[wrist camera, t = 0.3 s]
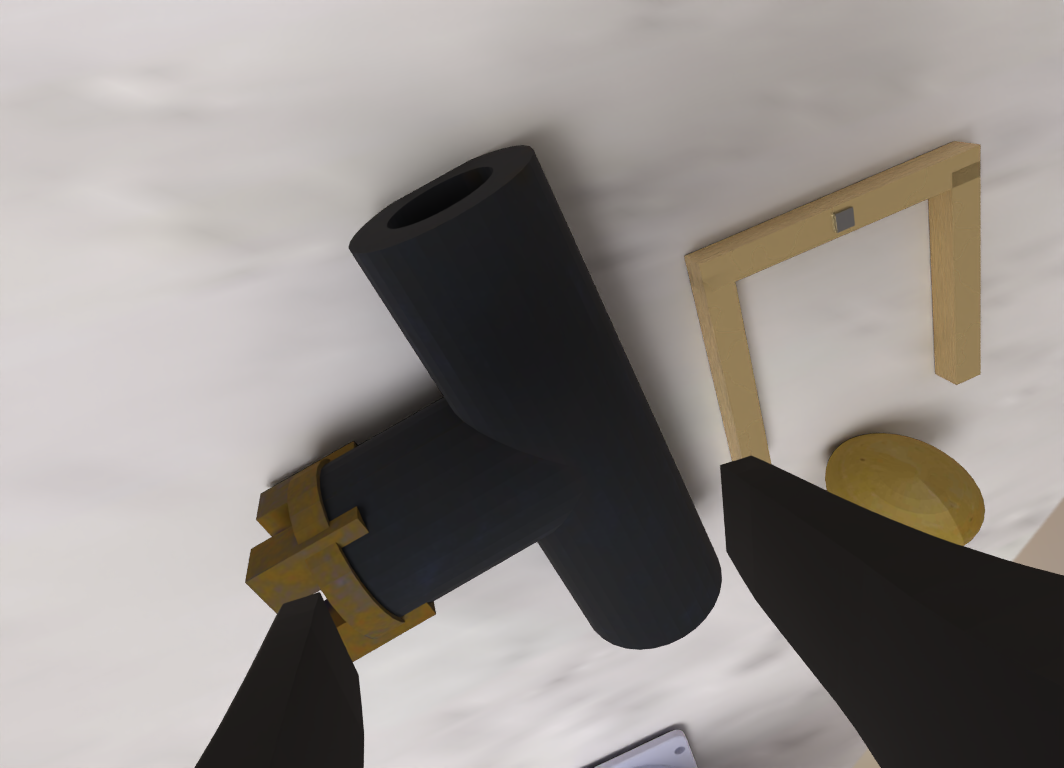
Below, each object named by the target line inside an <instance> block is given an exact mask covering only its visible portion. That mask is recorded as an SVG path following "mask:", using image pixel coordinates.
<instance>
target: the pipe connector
mask: <svg viewBox="0 0 1064 768" xmlns="http://www.w3.org/2000/svg"><path fill="white" fill-rule="evenodd" d="M349 249H350V251H351V253H352V254H353V256H354V257H355V259H356V261H357V262H358V264H359V265H360V267H361V268H362V270H363V271H364V273H365V275H366V276H367V278H368V279H369V281H370V282H371V284H372V285H373V287H374V289H375V290H376V292H377V293H378V295H379V296H380V298H381V299H382V301H383V303H384V304H385V306H386V307H387V309H388V310H389V312H390V313H391V315H392V317H393V318H394V320H395V321H396V323H397V324H398V326H399V327H400V329H401V331H402V332H403V334H404V335H405V337H406V338H407V340H408V341H409V343H410V345H411V346H412V348H413V349H414V351H415V352H416V354H417V355H418V357H419V359H420V360H421V362H422V363H423V365H424V366H425V368H426V369H427V371H428V373H429V374H430V376H431V377H432V379H433V380H434V382H435V383H436V385H437V387H438V388H439V390H440V391H441V393H442V394H443V396H444V397H443V398H441V399H440V400H438V401H436V402H434V403H433V404H431V405H429V406H427V407H426V408H424V409H422V410H420V411H419V412H417V413H415V414H413V415H412V416H410V417H408V418H406V419H404V420H403V421H401V422H399V423H397V424H396V425H394V426H392V427H390V428H389V429H387V430H385V431H383V432H382V433H380V434H378V435H376V436H375V437H373V438H371V439H369V440H368V441H366V442H364V443H362V444H360V445H359V446H357V445H356V443H355V442H354V441H353V442H351V443H349V444H347V445H346V446H344V447H342V448H340V449H339V450H337V451H335V452H333V453H332V454H330V455H328V456H326V457H324V458H323V459H321V460H319V461H317V462H316V463H314V464H312V465H310V466H309V467H307V468H305V469H303V470H302V471H300V472H298V473H296V474H295V475H293V476H291V477H289V478H287V479H286V480H284V481H282V482H280V483H279V484H277V485H275V486H273V487H272V488H270V489H268V490H266V491H265V492H263V493H261V495H260V501H259V506H258V512H257V518H256V520H257V521H258V522H259V523H260V524H261V525H262V526H263V528H264V529H265V530H266V531H267V532H268V533H269V534H270V535H271V536H272V537H271V538H269V539H268V540H266V541H264V542H262V543H261V544H259V545H257V546H255V547H254V548H252V549H251V552H250V557H249V563H248V569H247V575H246V580H245V583H246V584H247V585H248V586H249V587H250V588H251V589H252V590H253V591H254V592H255V593H256V594H257V595H258V596H259V597H260V598H261V599H262V600H263V601H264V602H265V603H266V604H267V605H268V606H269V607H270V608H271V609H273V610H274V611H275V612H276V613H278V611H279V610H280V608H281V606H282V605H283V604H284V603H287V602H290V601H293V600H296V599H300V598H303V597H306V596H309V595H312V594H314V593H316V592H318V591H319V590H321V591H322V592H323V593H324V595H325V596H326V598H327V599H326V600H325V601H324V602H325V604H326V606H327V609H328V611H329V613H330V615H331V617H332V619H333V621H334V624H335V626H336V628H337V630H338V632H339V634H340V636H341V639H342V641H343V643H344V645H345V647H346V649H347V651H348V654H349V656H350V658H351V660H352V662H354V661H356V660H357V659H359V658H361V657H363V656H364V655H366V654H368V653H369V652H371V651H373V650H375V649H376V648H378V647H380V646H382V645H383V644H385V643H387V642H389V641H390V640H392V639H394V638H396V637H397V636H399V635H401V634H402V633H404V632H406V631H408V630H409V629H411V628H413V627H415V626H416V625H418V624H420V623H422V622H423V621H425V620H427V619H428V618H430V617H432V616H434V615H435V614H436V611H435V606H434V601H435V600H437V599H438V598H440V597H442V596H443V595H445V594H447V593H449V592H450V591H452V590H454V589H456V588H457V587H459V586H461V585H463V584H464V583H466V582H468V581H470V580H471V579H473V578H475V577H476V576H478V575H480V574H482V573H483V572H485V571H487V570H489V569H490V568H492V567H494V566H496V565H497V564H499V563H501V562H503V561H504V560H506V559H508V558H509V557H511V556H513V555H515V554H516V553H518V552H520V551H522V550H523V549H525V548H527V547H529V546H530V545H532V544H534V543H536V542H538V544H539V545H540V547H541V548H542V550H543V551H544V553H545V555H546V556H547V558H548V559H549V561H550V562H551V564H552V565H553V567H554V569H555V570H556V572H557V573H558V575H559V576H560V578H561V579H562V581H563V583H564V584H565V586H566V587H567V589H568V590H569V592H570V593H571V595H572V597H573V598H574V600H575V601H576V603H577V604H578V606H579V607H580V609H581V611H582V612H583V614H584V615H585V617H586V618H587V620H588V621H589V623H590V625H591V626H592V628H593V629H594V630H595V631H596V632H597V633H598V634H599V635H600V636H601V637H602V638H603V639H605V640H606V641H608V642H610V643H612V644H613V645H617V646H620V647H623V648H628V649H638V650H641V649H652V648H657V647H661V646H664V645H668V644H670V643H673V642H675V641H677V640H679V639H681V638H683V637H684V636H686V635H687V634H689V633H690V632H692V631H693V630H694V629H696V628H697V627H698V626H699V625H700V624H701V623H702V622H703V621H704V620H705V619H706V617H707V616H708V614H709V613H710V612H711V610H712V609H713V607H714V605H715V603H716V601H717V598H718V596H719V593H720V588H721V583H722V575H721V567H720V563H719V560H718V557H717V555H716V553H715V551H714V548H713V546H712V544H711V542H710V540H709V537H708V535H707V533H706V531H705V529H704V526H703V524H702V522H701V520H700V517H699V515H698V513H697V511H696V509H695V506H694V504H693V502H692V500H691V498H690V495H689V493H688V491H687V489H686V486H685V484H684V482H683V480H682V478H681V475H680V473H679V471H678V469H677V467H676V464H675V462H674V460H673V458H672V455H671V453H670V451H669V449H668V447H667V444H666V442H665V440H664V438H663V436H662V433H661V431H660V429H659V427H658V424H657V422H656V420H655V418H654V416H653V413H652V411H651V409H650V407H649V405H648V402H647V400H646V398H645V396H644V393H643V391H642V389H641V387H640V385H639V382H638V380H637V378H636V376H635V374H634V371H633V369H632V367H631V365H630V362H629V360H628V358H627V356H626V354H625V351H624V349H623V347H622V345H621V343H620V340H619V338H618V336H617V334H616V331H615V329H614V327H613V325H612V323H611V320H610V318H609V316H608V314H607V312H606V309H605V307H604V305H603V303H602V300H601V298H600V296H599V294H598V292H597V289H596V287H595V285H594V283H593V281H592V278H591V276H590V274H589V272H588V269H587V267H586V265H585V263H584V261H583V258H582V256H581V254H580V252H579V250H578V247H577V245H576V243H575V241H574V238H573V236H572V234H571V232H570V230H569V227H568V225H567V223H566V221H565V219H564V216H563V214H562V212H561V210H560V207H559V205H558V203H557V201H556V199H555V196H554V194H553V192H552V190H551V188H550V185H549V183H548V181H547V179H546V176H545V174H544V172H543V170H542V168H541V165H540V163H539V161H538V159H537V157H536V154H535V152H534V150H533V149H532V148H531V147H530V146H524V145H521V146H512V147H508V148H504V149H500V150H497V151H494V152H491V153H488V154H485V155H483V156H480V157H477V158H475V159H472V160H470V161H468V162H466V163H464V164H462V165H460V166H458V167H457V168H455V169H453V170H451V171H449V172H448V173H446V174H444V175H442V176H440V177H439V178H437V179H435V180H433V181H431V182H430V183H428V184H426V185H424V186H422V187H421V188H419V189H417V190H415V191H413V192H412V193H410V194H408V195H406V196H404V197H402V198H401V199H399V200H397V201H395V202H393V203H392V204H391V205H389V206H388V207H386V208H385V209H383V210H382V211H381V212H380V213H378V214H377V215H376V216H374V217H373V218H372V219H371V220H370V221H368V222H367V223H366V224H365V225H364V226H363V227H362V228H361V229H360V230H359V231H358V232H357V233H356V234H355V235H354V237H353V238H352V240H351V241H350V244H349Z"/></svg>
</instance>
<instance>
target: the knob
mask: <svg viewBox="0 0 1064 768" xmlns="http://www.w3.org/2000/svg"><path fill="white" fill-rule="evenodd" d="M825 481H826V487H827V491H828V492H830V493H833V494H835V495H837V496H839V497H841V498H844V499H846V500H848V501H850V502H852V503H855V504H857V505H859V506H861V507H864V508H866V509H868V510H870V511H873V512H875V513H878V514H880V515H882V516H885V517H887V518H889V519H892V520H894V521H897V522H899V523H902V524H904V525H907V526H910V527H912V528H915V529H917V530H920V531H922V532H925V533H927V534H930V535H933V536H935V537H938V538H941V539H944V540H947V541H949V542H952V543H955V544H958V545H961V546H964V545H965V544H967V543H968V542H970V541H971V540H972V539H973V538H974V536H975V535H976V534H977V533H978V532H979V530H980V528H981V525H982V523H983V521H984V513H985V507H984V500H983V497H982V495H981V492H980V489H979V488H978V486H977V484H976V483H975V481H974V479H973V478H972V477H971V476H970V475H969V473H968V472H967V471H966V470H965V469H964V468H963V467H962V466H961V465H960V464H959V463H957V462H956V461H955V460H954V459H953V458H951V457H950V456H948V455H947V454H946V453H944V452H942V451H941V450H939V449H937V448H935V447H934V446H932V445H929V444H927V443H925V442H922V441H920V440H917V439H913V438H910V437H906V436H901V435H896V434H886V433H874V434H866V435H860V436H857V437H854V438H851V439H849V440H848V441H846V442H844V443H842V444H841V445H840V446H839V447H838V448H837V449H836V450H835V451H834V452H833V454H832V455H831V457H830V459H829V461H828V464H827V467H826V475H825Z"/></svg>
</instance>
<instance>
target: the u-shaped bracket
mask: <svg viewBox="0 0 1064 768" xmlns="http://www.w3.org/2000/svg"><path fill="white" fill-rule="evenodd" d="M926 199H929V224H930V249H931V274H932V299H933V325H934V350H935V374H937V375H938V376H940V377H942V378H944V379H946V380H948V381H950V382H952V383H953V384H955V385H958V384H960V383H962V382H964V381H967V380H969V379H971V378H973V377H975V376H978V375H980V145H979V144H972V143H964V142H957V141H954V142H951V143H949V144H947V145H944V146H942V147H940V148H937V149H935V150H933V151H930V152H928V153H926V154H923V155H921V156H918V157H916V158H914V159H911V160H909V161H907V162H904V163H902V164H900V165H897V166H895V167H893V168H890V169H888V170H886V171H883V172H881V173H879V174H876V175H874V176H871V177H869V178H867V179H864V180H862V181H860V182H857V183H855V184H853V185H850V186H848V187H846V188H843V189H841V190H839V191H836V192H834V193H832V194H829V195H827V196H824V197H822V198H820V199H817V200H815V201H813V202H810V203H808V204H806V205H803V206H801V207H799V208H796V209H794V210H792V211H789V212H787V213H784V214H782V215H780V216H777V217H775V218H773V219H770V220H768V221H766V222H763V223H761V224H759V225H756V226H754V227H752V228H749V229H747V230H745V231H742V232H740V233H737V234H735V235H733V236H730V237H728V238H726V239H723V240H721V241H719V242H716V243H714V244H712V245H709V246H707V247H705V248H702V249H700V250H698V251H695V252H693V253H690V254H688V255H686V256H684V257H685V262H686V266H687V270H688V274H689V279H690V283H691V287H692V292H693V296H694V300H695V304H696V309H697V313H698V317H699V321H700V326H701V330H702V334H703V339H704V343H705V347H706V351H707V356H708V360H709V364H710V368H711V373H712V377H713V381H714V385H715V390H716V394H717V398H718V403H719V407H720V411H721V415H722V420H723V424H724V428H725V432H726V437H727V441H728V445H729V449H730V454H731V458H732V461H735V460H738V459H742V458H745V457H748V456H751V455H752V456H754V457H756V458H759V459H761V460H763V461H765V462H767V463H770V464H771V460H770V455H769V450H768V445H767V440H766V435H765V430H764V425H763V420H762V415H761V410H760V405H759V399H758V394H757V389H756V384H755V379H754V374H753V369H752V364H751V359H750V354H749V349H748V344H747V339H746V334H745V329H744V324H743V319H742V314H741V309H740V304H739V299H738V293H737V288H736V283H735V282H736V281H738V280H740V279H743V278H745V277H747V276H750V275H752V274H754V273H757V272H759V271H761V270H764V269H766V268H768V267H771V266H773V265H775V264H778V263H780V262H782V261H785V260H787V259H789V258H792V257H794V256H796V255H798V254H801V253H803V252H805V251H808V250H810V249H812V248H815V247H817V246H819V245H822V244H824V243H826V242H829V241H831V240H833V239H836V238H838V237H840V236H843V235H845V234H847V233H850V232H852V231H854V230H857V229H859V228H861V227H864V226H866V225H868V224H871V223H873V222H875V221H878V220H880V219H882V218H885V217H887V216H889V215H892V214H894V213H896V212H899V211H901V210H903V209H906V208H908V207H910V206H912V205H915V204H917V203H919V202H922V201H924V200H926Z"/></svg>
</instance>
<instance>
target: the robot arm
mask: <svg viewBox="0 0 1064 768" xmlns="http://www.w3.org/2000/svg"><path fill="white" fill-rule="evenodd" d="M720 470H721V484H722V497H723V510H724V524H725V537H726V551H727V553H728V555H729V557H730V558H731V560H732V562H733V564H734V565H735V567H736V569H737V570H738V572H739V574H740V576H741V577H742V579H743V581H744V582H745V584H746V585H747V587H748V589H749V590H750V592H751V593H752V595H753V597H754V598H755V600H756V601H757V602H758V604H759V605H760V606H761V608H762V609H763V610H764V612H765V613H766V614H767V615H768V617H769V618H770V619H771V621H772V622H773V623H774V624H775V626H776V627H777V628H778V630H779V631H780V632H781V633H782V635H783V636H784V637H785V638H786V640H787V641H788V642H789V644H790V645H791V646H792V647H793V649H794V650H795V651H796V652H797V654H798V655H799V656H800V657H801V659H802V660H803V661H804V662H805V664H806V665H807V666H808V667H809V669H810V670H811V671H812V673H813V674H814V675H815V676H816V678H817V679H818V680H819V681H820V683H821V684H822V685H823V686H824V688H825V689H826V690H827V691H828V693H829V694H830V695H831V697H832V698H833V699H834V700H835V702H836V703H837V704H838V706H839V707H840V708H841V710H842V711H843V712H844V714H845V715H846V716H847V718H848V719H849V721H850V722H851V723H852V725H853V726H854V727H855V729H856V730H857V732H858V733H859V735H860V736H861V738H862V740H863V741H864V743H865V744H866V746H867V747H868V749H869V750H870V752H871V753H872V755H873V756H874V758H875V760H876V761H877V762H878V764H879V766H880V767H881V768H1064V576H1063V575H1059V574H1055V573H1051V572H1048V571H1044V570H1040V569H1036V568H1032V567H1029V566H1025V565H1021V564H1018V563H1015V562H1011V561H1008V560H1005V559H1001V558H998V557H995V556H992V555H989V554H986V553H983V552H980V551H977V550H973V549H970V548H967V547H964V546H961V545H958V544H955V543H952V542H949V541H947V540H944V539H941V538H938V537H935V536H933V535H930V534H927V533H925V532H922V531H920V530H917V529H915V528H912V527H910V526H907V525H904V524H902V523H899V522H897V521H894V520H892V519H889V518H887V517H885V516H882V515H880V514H878V513H875V512H873V511H870V510H868V509H866V508H864V507H861V506H859V505H857V504H855V503H852V502H850V501H848V500H846V499H844V498H841V497H839V496H837V495H835V494H833V493H830V492H828V491H826V490H824V489H822V488H820V487H818V486H816V485H814V484H811V483H809V482H807V481H805V480H803V479H801V478H799V477H797V476H795V475H793V474H791V473H788V472H786V471H784V470H782V469H780V468H778V467H776V466H774V465H772V464H770V463H767V462H765V461H763V460H761V459H759V458H756V457H754V456H752V455H751V456H748V457H745V458H742V459H738V460H735V461H732V462H729V463H726V464H723V465H720ZM195 768H364V728H363V716H362V705H361V695H360V685H359V676H358V673H357V671H356V669H355V666H354V664H353V662H352V660H351V658H350V656H349V654H348V651H347V649H346V647H345V645H344V643H343V641H342V639H341V636H340V634H339V632H338V630H337V628H336V626H335V624H334V621H333V619H332V617H331V615H330V613H329V611H328V609H327V606H326V604H325V602H324V600H323V598H322V596H321V594H320V592H318V593H315V594H312V595H309V596H306V597H303V598H300V599H296V600H293V601H290V602H287V603H284V604H283V605H282V606H281V608H280V610H279V611H278V613H277V615H276V617H275V619H274V621H273V623H272V625H271V627H270V629H269V631H268V633H267V635H266V637H265V639H264V641H263V643H262V645H261V647H260V649H259V651H258V653H257V655H256V657H255V659H254V661H253V663H252V665H251V667H250V669H249V671H248V673H247V675H246V677H245V679H244V681H243V683H242V685H241V686H240V688H239V690H238V692H237V694H236V696H235V698H234V699H233V701H232V703H231V705H230V707H229V709H228V711H227V712H226V714H225V716H224V718H223V720H222V722H221V723H220V725H219V727H218V729H217V731H216V732H215V734H214V736H213V738H212V739H211V741H210V743H209V744H208V746H207V748H206V749H205V751H204V753H203V754H202V756H201V758H200V759H199V761H198V763H197V764H196V766H195ZM594 768H698V767H697V764H696V762H695V759H694V756H693V754H692V751H691V748H690V746H689V743H688V740H687V738H686V736H685V734H684V732H683V731H681V730H673V731H670V732H668V733H666V734H664V735H662V736H660V737H658V738H656V739H653V740H651V741H649V742H647V743H645V744H643V745H641V746H639V747H636V748H634V749H632V750H630V751H628V752H626V753H624V754H622V755H619V756H617V757H615V758H613V759H611V760H609V761H607V762H604V763H602V764H600V765H598V766H596V767H594Z"/></svg>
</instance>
